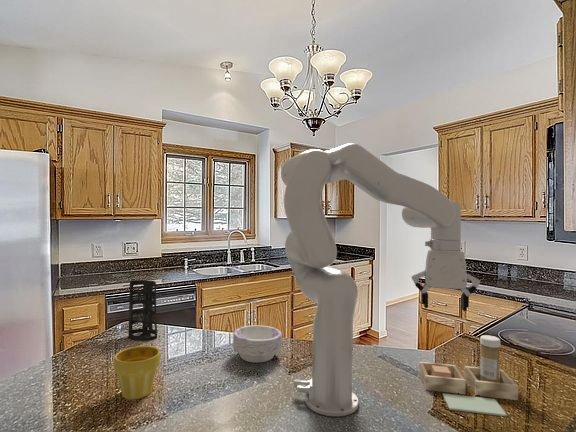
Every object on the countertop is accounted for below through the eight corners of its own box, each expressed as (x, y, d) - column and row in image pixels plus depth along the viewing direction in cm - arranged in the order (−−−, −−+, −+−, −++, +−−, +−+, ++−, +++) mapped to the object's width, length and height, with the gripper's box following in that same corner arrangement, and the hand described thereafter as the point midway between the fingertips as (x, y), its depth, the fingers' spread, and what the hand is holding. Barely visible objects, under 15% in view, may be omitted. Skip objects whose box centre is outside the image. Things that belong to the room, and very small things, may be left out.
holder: (122, 340, 121) (124, 283, 121) (132, 333, 129) (133, 279, 129) (154, 341, 121) (155, 283, 121) (162, 334, 129) (163, 280, 129)
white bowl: (290, 360, 107) (291, 334, 107) (246, 371, 98) (247, 343, 98) (265, 345, 120) (266, 321, 120) (224, 353, 111) (225, 329, 111)
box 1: (425, 389, 90) (425, 376, 90) (419, 373, 99) (419, 361, 99) (465, 394, 88) (465, 380, 88) (455, 377, 97) (455, 365, 97)
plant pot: (130, 409, 78) (131, 365, 78) (104, 396, 83) (105, 355, 83) (168, 390, 87) (169, 351, 87) (142, 379, 92) (143, 342, 92)
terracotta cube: (434, 386, 92) (434, 371, 92) (431, 379, 96) (431, 365, 96) (450, 388, 91) (450, 373, 91) (446, 381, 95) (447, 366, 95)
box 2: (475, 395, 87) (475, 381, 87) (464, 378, 97) (464, 365, 97) (518, 400, 85) (518, 385, 85) (502, 382, 95) (502, 369, 95)
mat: (449, 409, 80) (449, 407, 80) (442, 394, 87) (442, 393, 87) (506, 416, 78) (506, 414, 78) (494, 400, 85) (494, 399, 85)
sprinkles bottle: (503, 390, 90) (503, 338, 90) (494, 394, 88) (495, 341, 88) (485, 383, 94) (485, 333, 94) (476, 387, 92) (476, 336, 92)
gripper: (413, 245, 94) (412, 309, 94) (484, 248, 90) (483, 314, 89) (410, 244, 101) (410, 302, 101) (476, 246, 97) (475, 307, 97)
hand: (444, 308), depth 95 cm, fingers open, 9 cm apart
